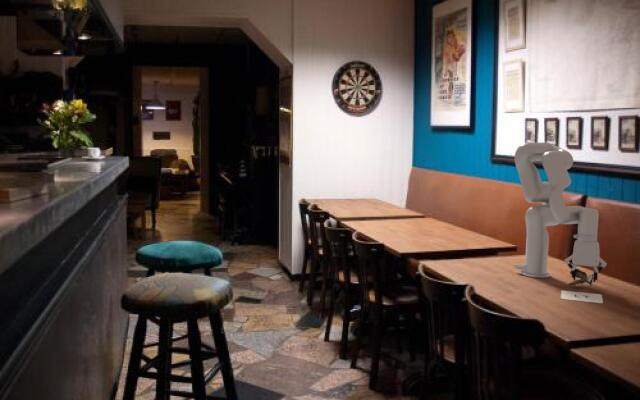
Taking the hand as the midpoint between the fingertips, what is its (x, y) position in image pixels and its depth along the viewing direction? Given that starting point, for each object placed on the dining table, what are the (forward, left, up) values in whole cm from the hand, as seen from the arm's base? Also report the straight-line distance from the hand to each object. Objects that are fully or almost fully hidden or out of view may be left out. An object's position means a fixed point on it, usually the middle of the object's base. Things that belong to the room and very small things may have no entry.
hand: (584, 280), depth 262 cm
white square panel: (-1, -15, -3) cm, 15 cm away
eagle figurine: (-1, +1, -3) cm, 3 cm away
